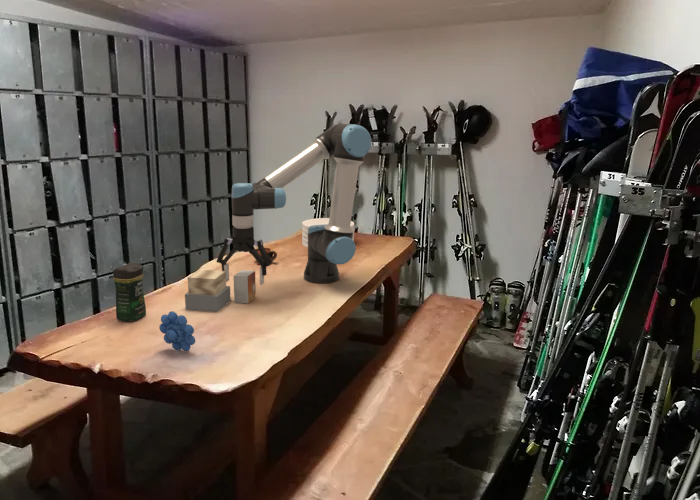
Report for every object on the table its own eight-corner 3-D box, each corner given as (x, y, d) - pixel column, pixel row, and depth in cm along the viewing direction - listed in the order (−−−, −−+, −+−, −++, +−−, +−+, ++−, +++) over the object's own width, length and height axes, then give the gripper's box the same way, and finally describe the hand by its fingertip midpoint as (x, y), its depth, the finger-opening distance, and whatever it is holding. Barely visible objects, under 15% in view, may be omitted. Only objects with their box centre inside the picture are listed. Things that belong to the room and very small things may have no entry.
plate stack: (305, 237, 305) (305, 217, 302) (354, 238, 304) (355, 218, 302) (299, 249, 278) (298, 227, 275) (353, 250, 277) (353, 229, 274)
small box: (248, 304, 197) (247, 276, 195) (233, 302, 198) (233, 275, 196) (256, 297, 205) (255, 270, 202) (242, 295, 206) (241, 269, 204)
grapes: (152, 353, 156) (149, 314, 153) (166, 344, 162) (163, 306, 159) (186, 359, 153) (184, 319, 150) (200, 350, 159) (198, 311, 156)
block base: (230, 301, 201) (230, 286, 199) (217, 312, 189) (217, 296, 188) (200, 299, 202) (199, 284, 201) (185, 310, 191) (184, 294, 189)
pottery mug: (250, 266, 248) (249, 248, 250) (259, 270, 256) (259, 253, 259) (273, 261, 244) (272, 244, 247) (282, 265, 253) (281, 249, 255)
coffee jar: (133, 323, 177) (129, 269, 173) (112, 321, 179) (107, 267, 174) (150, 313, 186) (146, 261, 182) (130, 311, 188) (125, 260, 183)
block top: (226, 286, 198) (225, 271, 197) (215, 295, 189) (215, 279, 187) (200, 285, 200) (199, 269, 198) (188, 293, 190) (187, 277, 189)
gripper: (279, 226, 197) (279, 281, 202) (214, 222, 200) (216, 277, 205) (273, 230, 189) (273, 288, 195) (206, 226, 193) (208, 282, 198)
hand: (244, 282), depth 200 cm, fingers open, 13 cm apart
